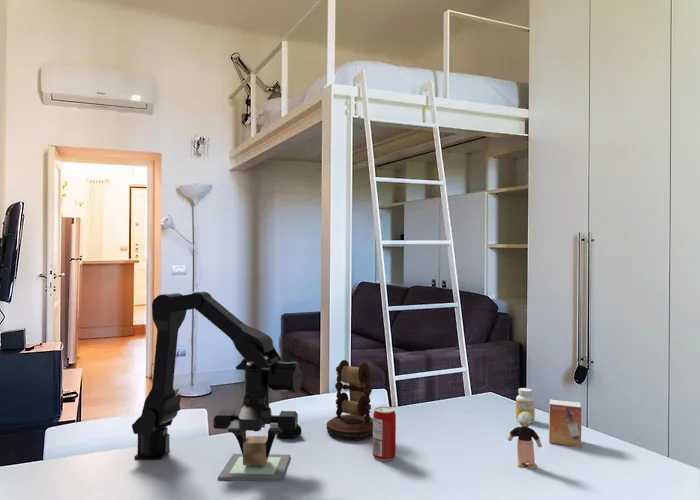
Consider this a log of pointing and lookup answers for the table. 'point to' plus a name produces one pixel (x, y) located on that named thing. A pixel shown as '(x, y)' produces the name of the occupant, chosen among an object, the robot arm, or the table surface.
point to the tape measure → (290, 432)
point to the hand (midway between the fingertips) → (255, 456)
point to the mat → (255, 469)
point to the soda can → (384, 433)
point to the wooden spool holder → (352, 402)
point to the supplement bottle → (525, 403)
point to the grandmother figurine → (525, 441)
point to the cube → (255, 451)
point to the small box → (565, 423)
